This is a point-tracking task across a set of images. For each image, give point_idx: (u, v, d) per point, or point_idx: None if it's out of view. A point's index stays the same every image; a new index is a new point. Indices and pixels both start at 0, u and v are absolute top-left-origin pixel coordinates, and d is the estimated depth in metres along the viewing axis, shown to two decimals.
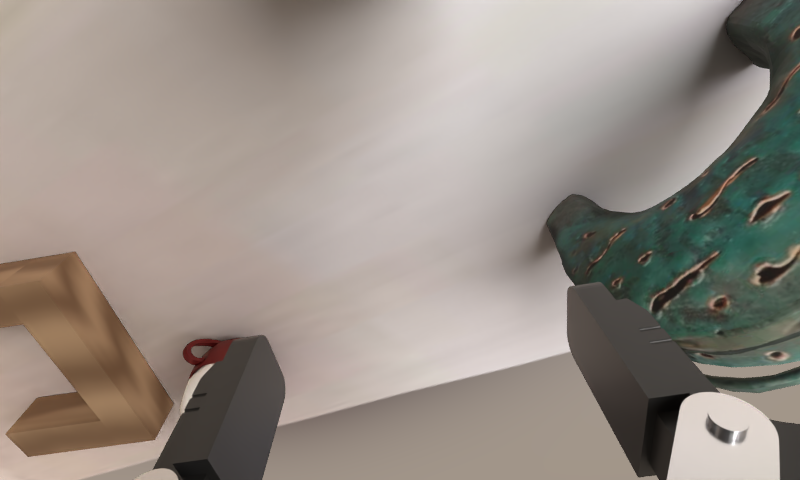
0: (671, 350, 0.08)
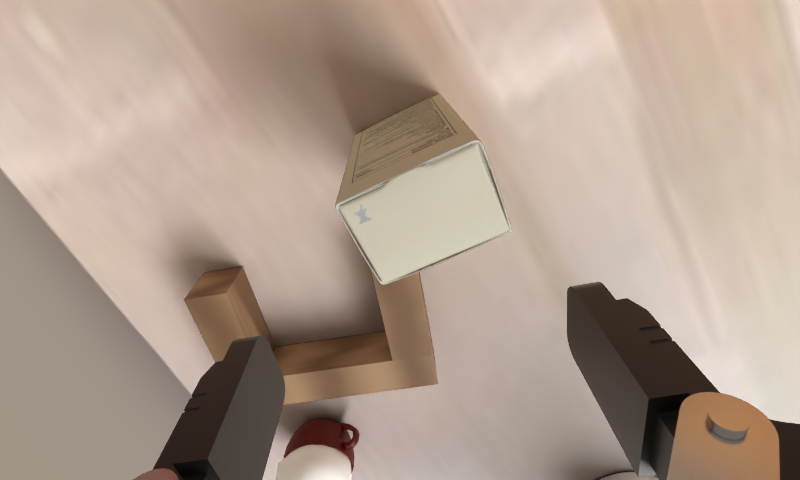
0: (671, 350, 0.08)
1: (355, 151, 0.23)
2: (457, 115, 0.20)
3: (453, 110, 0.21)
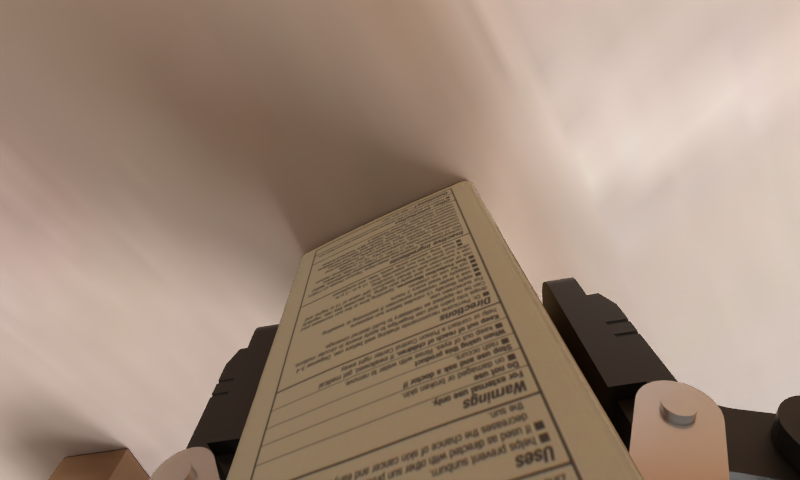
0: (636, 342, 0.09)
1: (282, 347, 0.10)
2: (549, 324, 0.07)
3: (524, 279, 0.08)
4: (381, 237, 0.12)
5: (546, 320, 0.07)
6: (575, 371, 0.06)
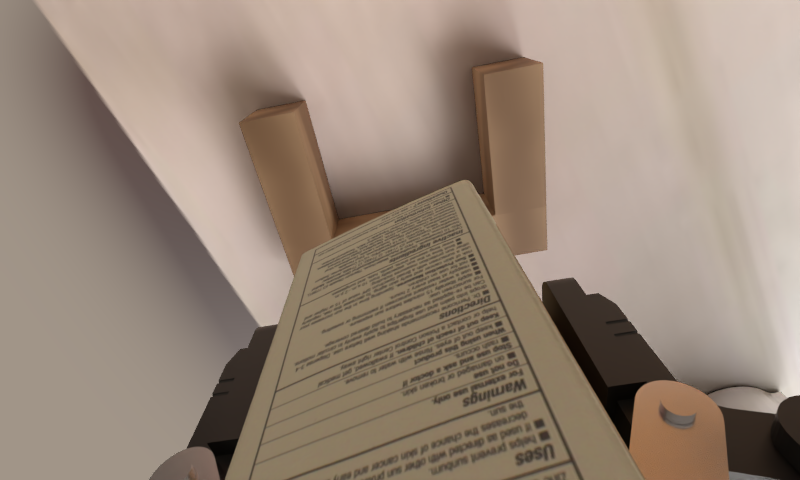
0: (635, 342, 0.09)
1: (281, 346, 0.10)
2: (549, 323, 0.07)
3: (524, 278, 0.08)
4: (381, 236, 0.12)
5: (546, 318, 0.07)
6: (575, 369, 0.06)
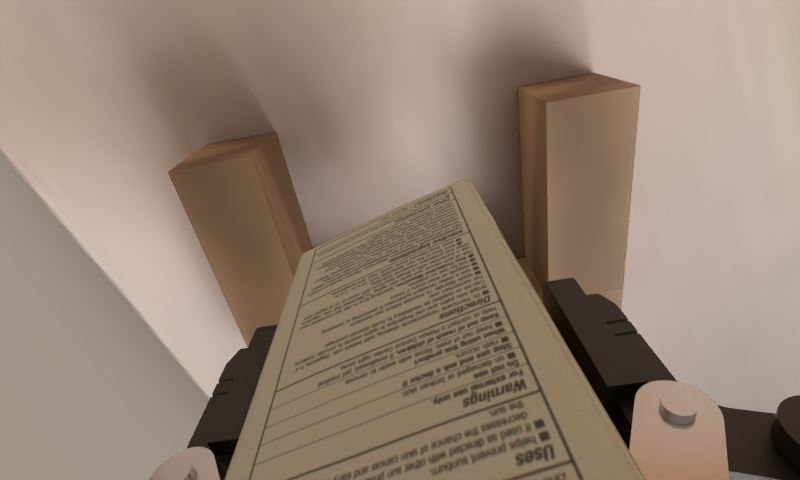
0: (635, 342, 0.09)
1: (281, 346, 0.10)
2: (549, 323, 0.07)
3: (524, 278, 0.08)
4: (380, 236, 0.12)
5: (546, 319, 0.07)
6: (575, 370, 0.06)
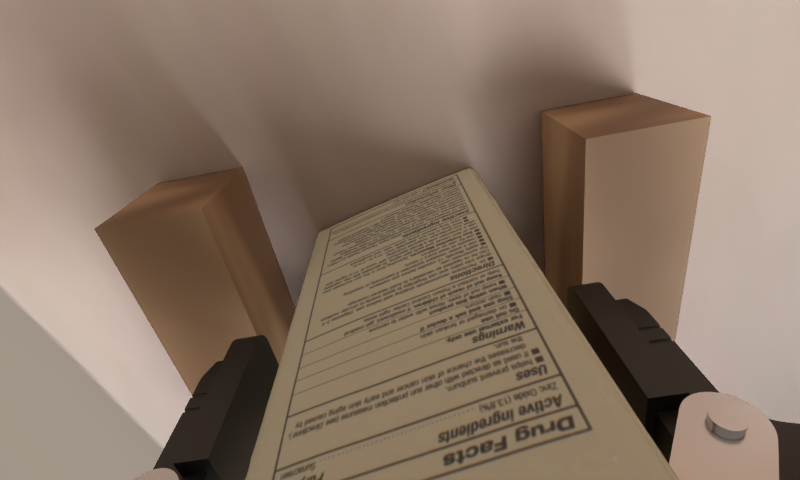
0: (671, 350, 0.08)
1: (307, 307, 0.11)
2: (544, 280, 0.08)
3: (523, 247, 0.09)
4: (393, 216, 0.13)
5: (542, 277, 0.08)
6: (565, 313, 0.07)
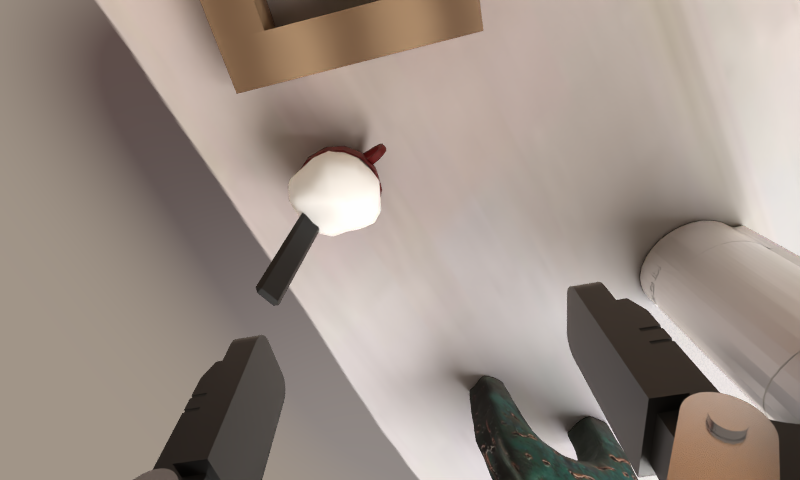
0: (671, 350, 0.08)
1: None
2: None
3: None
4: None
5: None
6: None
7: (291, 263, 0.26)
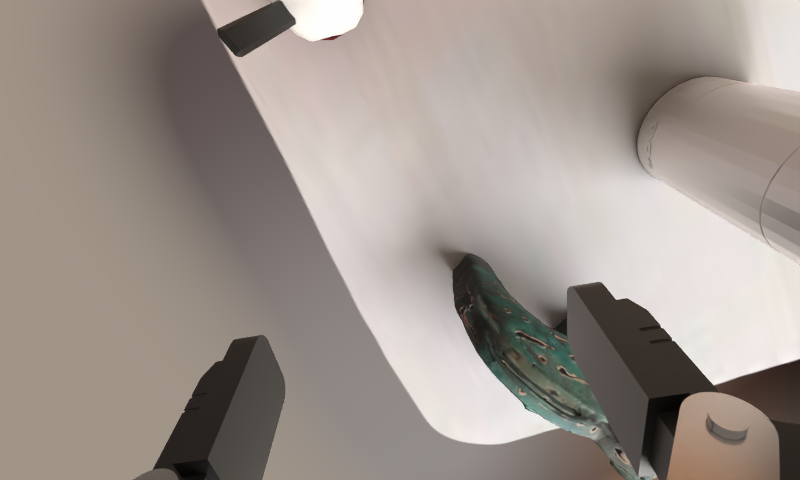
0: (671, 350, 0.08)
1: None
2: None
3: None
4: None
5: None
6: None
7: (260, 30, 0.24)
